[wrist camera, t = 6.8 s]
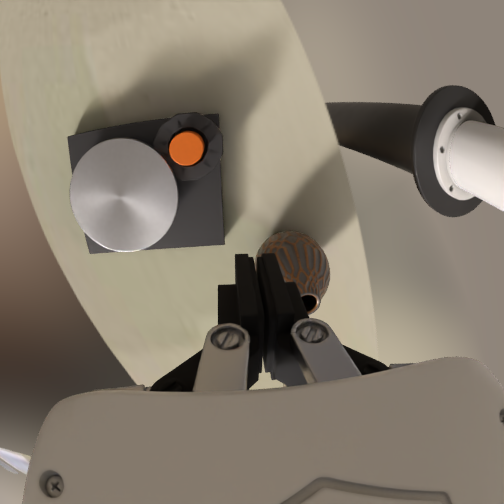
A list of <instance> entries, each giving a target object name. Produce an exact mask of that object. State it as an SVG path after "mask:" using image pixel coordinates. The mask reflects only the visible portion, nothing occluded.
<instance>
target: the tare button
mask: <svg viewBox="0 0 504 504" xmlns="http://www.w3.org/2000/svg"><path fill="white" fill-rule="evenodd" d="M169 152H170V155H171V157H172V159H173V160H174V161H175V162H176V163H178V164H180V165H192V164H194V163H196V162H197V161H198V160H199V159H200V158H201V156H202V154H203V152H204V141H203V139H202V137H201V136H200V135H199V134H198V133H196V132H194V131H184V132H181V133H179V134H178V135H176V136H175V137H174V138H173V139H172V141H171V143H170V146H169Z"/></svg>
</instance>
